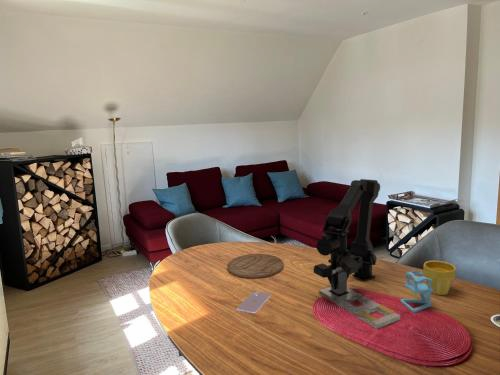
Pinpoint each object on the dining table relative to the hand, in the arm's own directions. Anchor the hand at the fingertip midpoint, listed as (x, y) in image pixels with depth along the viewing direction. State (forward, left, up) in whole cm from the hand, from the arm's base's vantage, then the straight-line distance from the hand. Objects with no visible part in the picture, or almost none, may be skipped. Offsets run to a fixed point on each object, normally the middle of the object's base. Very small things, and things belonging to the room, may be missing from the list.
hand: (338, 288), depth 137 cm
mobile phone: (+28, -13, -4) cm, 31 cm away
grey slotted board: (0, +9, -3) cm, 9 cm away
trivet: (+12, -41, -4) cm, 43 cm away
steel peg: (0, 0, -3) cm, 3 cm away
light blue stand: (-17, +20, -3) cm, 26 cm away
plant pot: (-32, +17, -3) cm, 36 cm away
